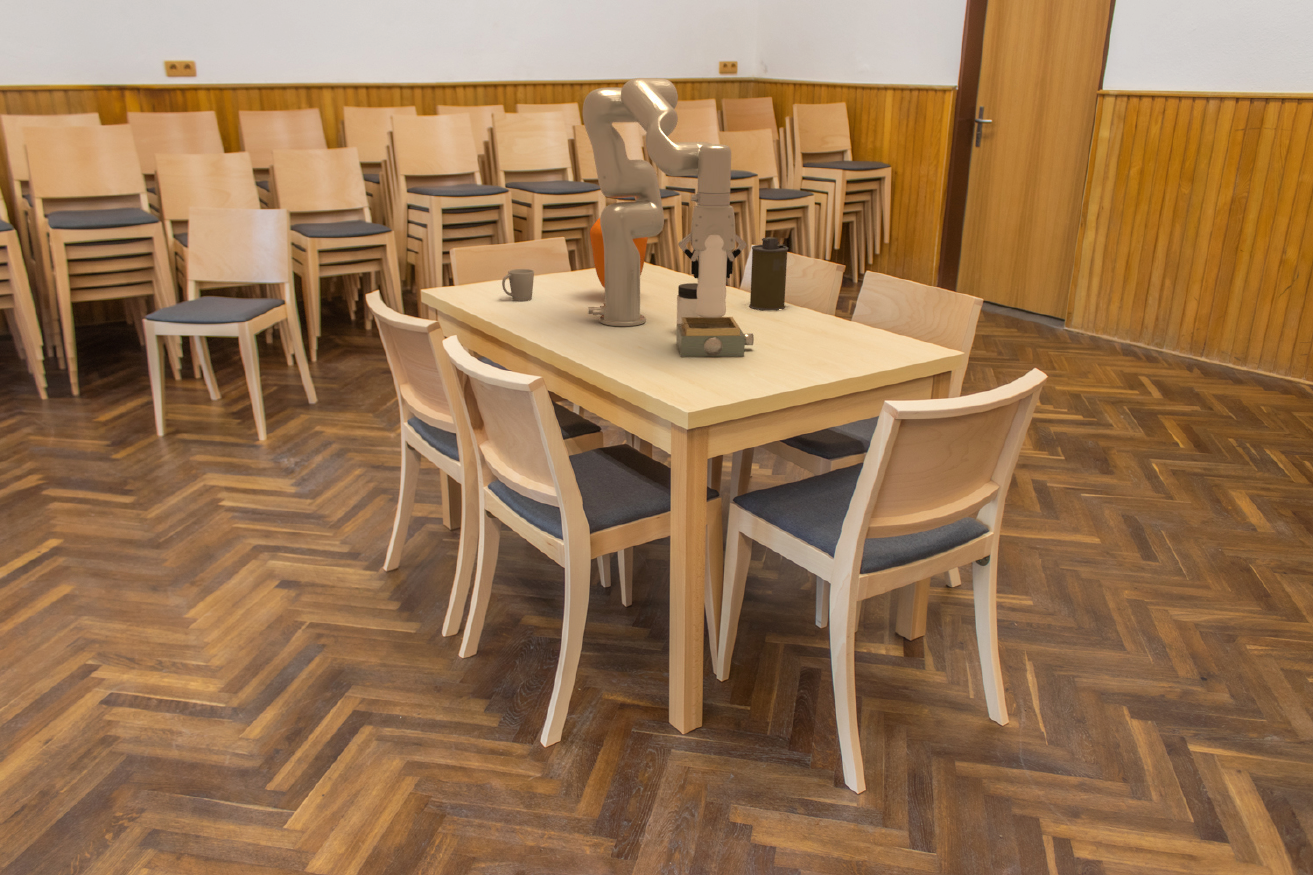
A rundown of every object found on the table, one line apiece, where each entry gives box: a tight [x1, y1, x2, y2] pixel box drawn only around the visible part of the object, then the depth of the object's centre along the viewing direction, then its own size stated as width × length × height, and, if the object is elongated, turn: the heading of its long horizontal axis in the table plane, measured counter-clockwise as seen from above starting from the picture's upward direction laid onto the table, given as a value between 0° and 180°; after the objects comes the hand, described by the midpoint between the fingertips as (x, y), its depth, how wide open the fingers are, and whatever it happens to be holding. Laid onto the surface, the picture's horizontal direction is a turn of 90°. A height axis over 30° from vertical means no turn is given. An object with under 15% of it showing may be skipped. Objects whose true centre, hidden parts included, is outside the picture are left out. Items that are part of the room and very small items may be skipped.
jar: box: [676, 282, 700, 325], centre depth 251 cm, size 9×8×12 cm
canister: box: [749, 236, 789, 311], centre depth 280 cm, size 11×10×20 cm
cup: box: [501, 268, 535, 302], centre depth 288 cm, size 8×10×8 cm
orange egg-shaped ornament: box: [589, 217, 649, 289], centre depth 288 cm, size 17×17×25 cm
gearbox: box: [675, 316, 755, 358], centre depth 234 cm, size 18×14×7 cm
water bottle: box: [696, 235, 727, 318], centre depth 228 cm, size 7×7×25 cm
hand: (711, 276), depth 229 cm, fingers closed on water bottle, 7 cm apart
